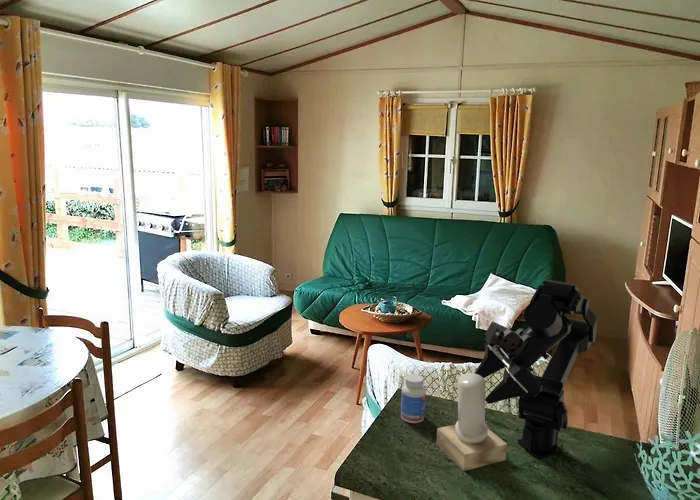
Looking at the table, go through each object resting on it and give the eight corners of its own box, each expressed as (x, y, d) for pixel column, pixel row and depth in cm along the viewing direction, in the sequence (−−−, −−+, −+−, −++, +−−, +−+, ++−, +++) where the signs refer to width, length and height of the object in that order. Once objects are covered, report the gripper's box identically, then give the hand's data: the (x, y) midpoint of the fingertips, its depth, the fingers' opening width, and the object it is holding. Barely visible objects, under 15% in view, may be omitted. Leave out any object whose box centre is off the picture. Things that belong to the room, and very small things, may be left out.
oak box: (475, 436, 117) (477, 419, 116) (505, 461, 108) (507, 444, 107) (436, 445, 113) (437, 428, 113) (463, 473, 104) (464, 454, 104)
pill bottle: (425, 424, 121) (427, 384, 119) (401, 423, 121) (403, 383, 119) (423, 411, 126) (425, 373, 124) (399, 411, 126) (401, 372, 124)
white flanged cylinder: (471, 415, 114) (471, 366, 108) (494, 433, 109) (495, 383, 103) (448, 429, 111) (447, 380, 105) (470, 449, 106) (470, 398, 100)
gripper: (497, 296, 114) (442, 345, 115) (531, 328, 95) (465, 385, 97) (531, 331, 116) (476, 379, 118) (570, 369, 98) (504, 425, 99)
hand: (479, 390), depth 108 cm, fingers open, 9 cm apart
